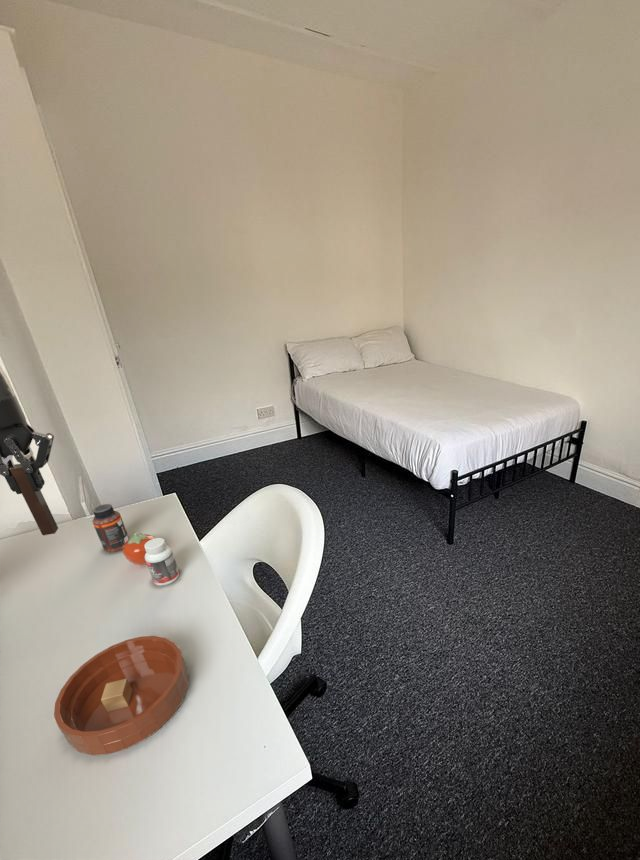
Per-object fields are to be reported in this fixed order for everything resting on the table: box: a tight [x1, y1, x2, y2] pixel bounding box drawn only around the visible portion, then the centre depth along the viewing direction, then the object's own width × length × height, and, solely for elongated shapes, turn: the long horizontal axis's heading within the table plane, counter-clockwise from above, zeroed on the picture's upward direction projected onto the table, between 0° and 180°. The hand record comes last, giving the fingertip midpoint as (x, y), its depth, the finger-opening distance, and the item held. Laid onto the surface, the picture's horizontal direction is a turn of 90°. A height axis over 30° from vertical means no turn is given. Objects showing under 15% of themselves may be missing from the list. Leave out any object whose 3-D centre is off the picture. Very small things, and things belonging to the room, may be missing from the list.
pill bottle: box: [144, 537, 180, 586], centre depth 91 cm, size 5×5×10 cm
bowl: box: [53, 635, 190, 756], centre depth 66 cm, size 17×17×5 cm
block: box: [101, 678, 132, 712], centre depth 66 cm, size 3×3×3 cm
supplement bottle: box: [91, 503, 130, 553], centre depth 103 cm, size 6×6×11 cm
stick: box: [10, 463, 59, 536], centre depth 76 cm, size 2×2×14 cm
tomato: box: [121, 532, 156, 566], centre depth 98 cm, size 7×7×8 cm
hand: (30, 490), depth 75 cm, fingers closed on stick, 2 cm apart
